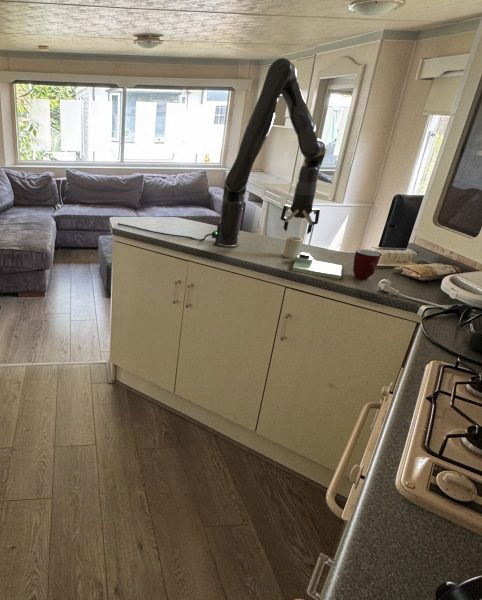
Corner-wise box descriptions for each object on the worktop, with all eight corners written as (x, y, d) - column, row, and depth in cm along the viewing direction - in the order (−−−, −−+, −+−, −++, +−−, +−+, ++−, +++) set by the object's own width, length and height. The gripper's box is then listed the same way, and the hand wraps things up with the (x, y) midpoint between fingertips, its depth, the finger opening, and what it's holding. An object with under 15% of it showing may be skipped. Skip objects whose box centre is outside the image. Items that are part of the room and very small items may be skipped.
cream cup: (282, 257, 181) (286, 238, 178) (284, 253, 186) (287, 235, 183) (297, 259, 179) (302, 241, 175) (299, 255, 184) (303, 237, 180)
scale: (291, 270, 166) (292, 263, 165) (295, 260, 178) (296, 253, 176) (340, 279, 159) (342, 271, 158) (341, 268, 171) (343, 261, 169)
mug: (381, 284, 155) (390, 258, 151) (360, 284, 155) (368, 258, 151) (364, 274, 165) (372, 249, 161) (344, 274, 164) (351, 249, 160)
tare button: (299, 258, 172) (300, 254, 171) (299, 256, 175) (300, 251, 174) (308, 260, 170) (309, 255, 170) (309, 257, 173) (310, 253, 173)
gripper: (324, 193, 172) (315, 232, 178) (287, 189, 177) (279, 227, 184) (323, 195, 166) (314, 236, 172) (284, 192, 171) (277, 231, 178)
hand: (296, 232), depth 178 cm, fingers open, 8 cm apart
